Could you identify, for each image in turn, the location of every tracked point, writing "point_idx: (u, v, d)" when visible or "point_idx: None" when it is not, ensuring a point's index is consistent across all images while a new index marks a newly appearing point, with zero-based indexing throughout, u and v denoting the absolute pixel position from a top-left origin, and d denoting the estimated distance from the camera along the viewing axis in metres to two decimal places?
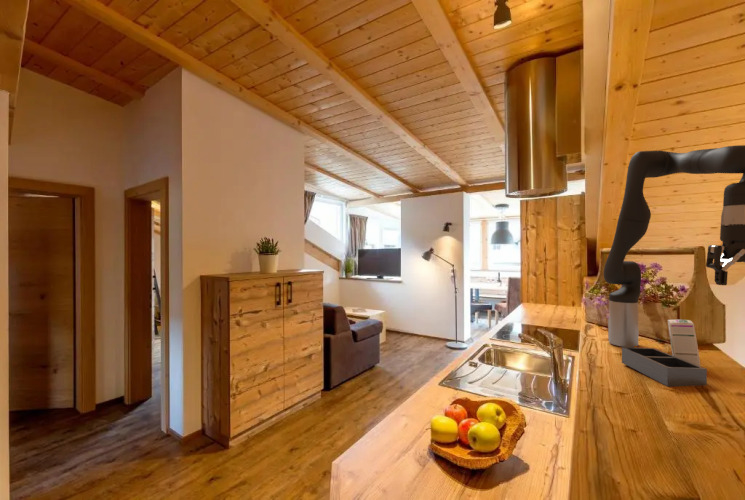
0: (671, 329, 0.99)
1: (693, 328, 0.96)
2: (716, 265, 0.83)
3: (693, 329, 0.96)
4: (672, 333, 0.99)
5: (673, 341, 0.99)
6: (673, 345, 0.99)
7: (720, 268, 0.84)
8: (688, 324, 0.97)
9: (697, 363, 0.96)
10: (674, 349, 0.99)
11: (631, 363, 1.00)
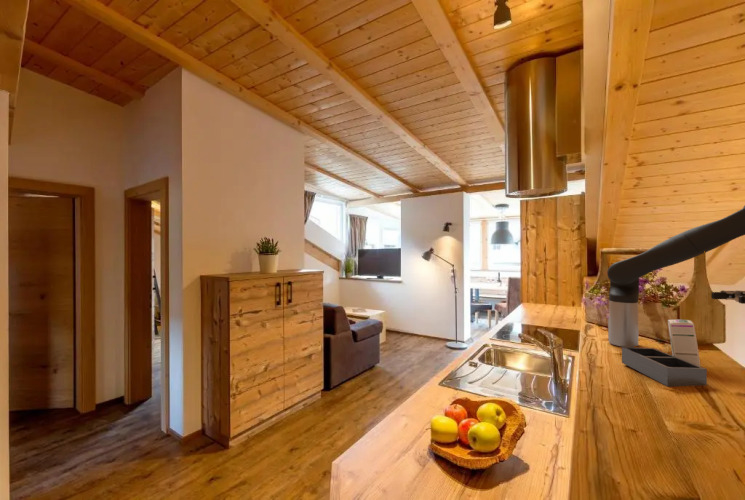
0: (671, 329, 0.99)
1: (693, 328, 0.96)
2: None
3: (693, 329, 0.96)
4: (672, 333, 0.99)
5: (673, 341, 0.99)
6: (673, 345, 0.99)
7: None
8: (688, 324, 0.97)
9: (697, 363, 0.96)
10: (674, 349, 0.99)
11: (631, 363, 1.00)
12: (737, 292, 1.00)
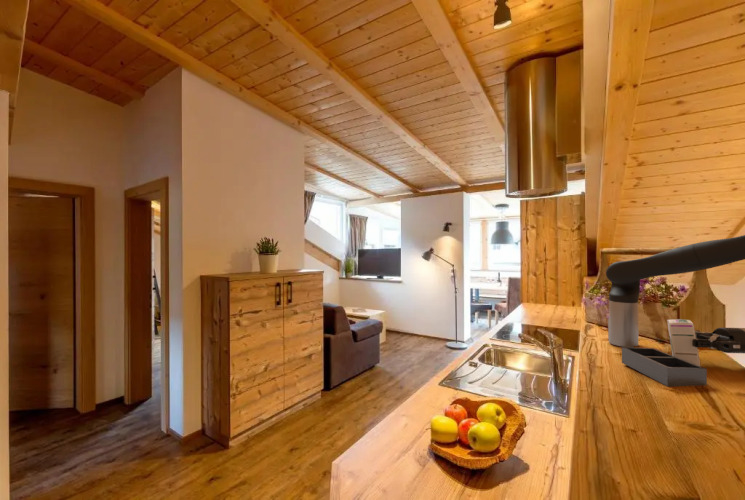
0: (671, 329, 0.99)
1: (693, 328, 0.96)
2: (721, 350, 0.92)
3: (693, 329, 0.96)
4: (672, 333, 0.99)
5: (673, 341, 0.99)
6: (673, 345, 0.99)
7: (713, 347, 0.94)
8: (688, 324, 0.97)
9: (697, 363, 0.96)
10: (674, 349, 0.99)
11: (631, 363, 1.00)
12: None
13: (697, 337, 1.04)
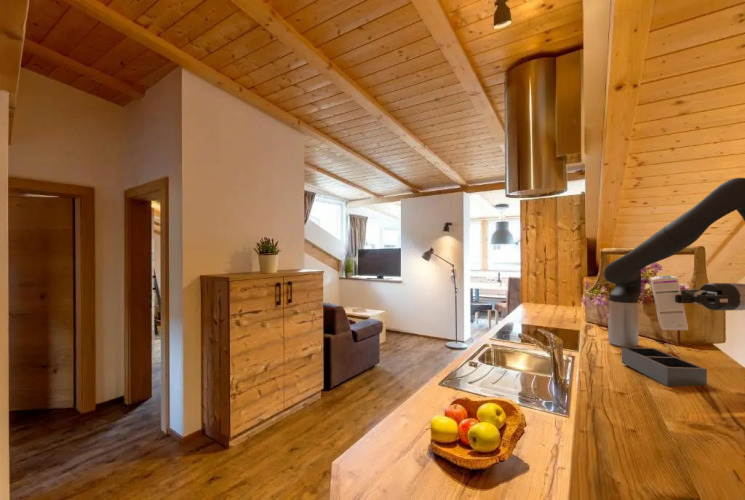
0: (654, 286, 0.90)
1: (677, 283, 0.87)
2: (706, 305, 0.84)
3: (677, 284, 0.87)
4: (655, 291, 0.90)
5: (657, 299, 0.90)
6: (657, 304, 0.90)
7: (697, 302, 0.85)
8: (671, 279, 0.88)
9: (684, 321, 0.87)
10: (658, 308, 0.90)
11: (631, 363, 1.00)
12: None
13: None
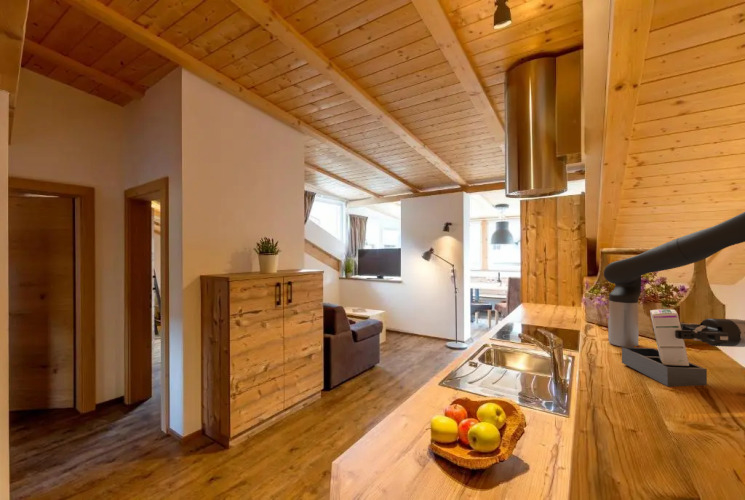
0: (654, 320, 0.90)
1: (677, 318, 0.87)
2: (706, 342, 0.84)
3: (677, 319, 0.87)
4: (655, 325, 0.90)
5: (657, 334, 0.90)
6: (657, 338, 0.90)
7: (698, 338, 0.85)
8: (671, 314, 0.88)
9: (684, 357, 0.87)
10: (659, 343, 0.90)
11: (631, 363, 1.00)
12: None
13: (683, 330, 0.96)
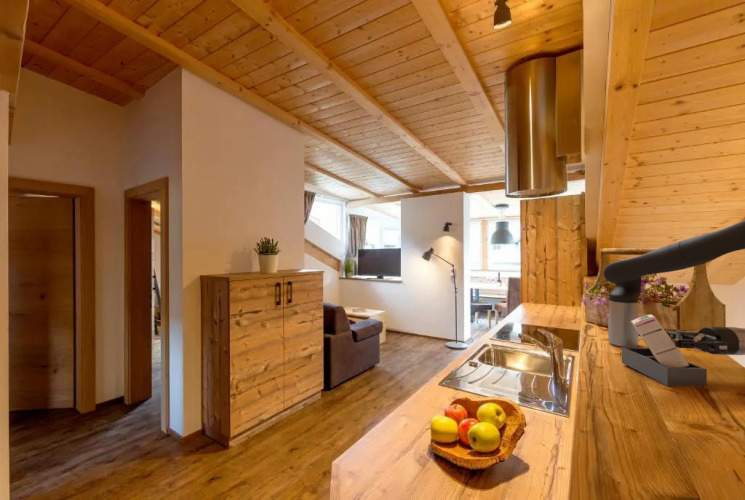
0: (638, 329, 0.93)
1: (657, 321, 0.91)
2: (706, 351, 0.84)
3: (657, 322, 0.91)
4: (641, 333, 0.92)
5: (647, 342, 0.92)
6: (649, 346, 0.91)
7: (697, 348, 0.85)
8: (650, 319, 0.91)
9: (681, 357, 0.88)
10: (652, 350, 0.91)
11: (631, 363, 1.00)
12: (678, 332, 0.93)
13: None
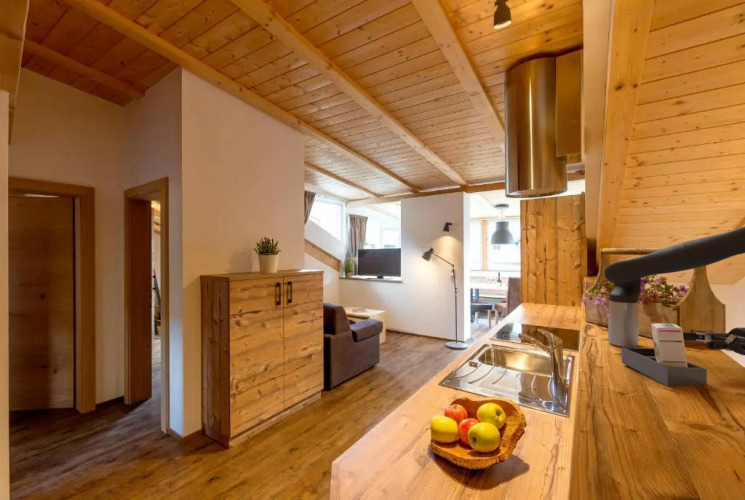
0: (658, 334, 0.90)
1: (681, 333, 0.88)
2: (739, 353, 0.83)
3: (681, 334, 0.88)
4: (659, 339, 0.90)
5: (660, 348, 0.90)
6: (660, 352, 0.90)
7: (730, 349, 0.84)
8: (676, 329, 0.88)
9: None
10: (661, 357, 0.90)
11: (631, 363, 1.00)
12: (707, 333, 0.92)
13: (711, 338, 0.95)
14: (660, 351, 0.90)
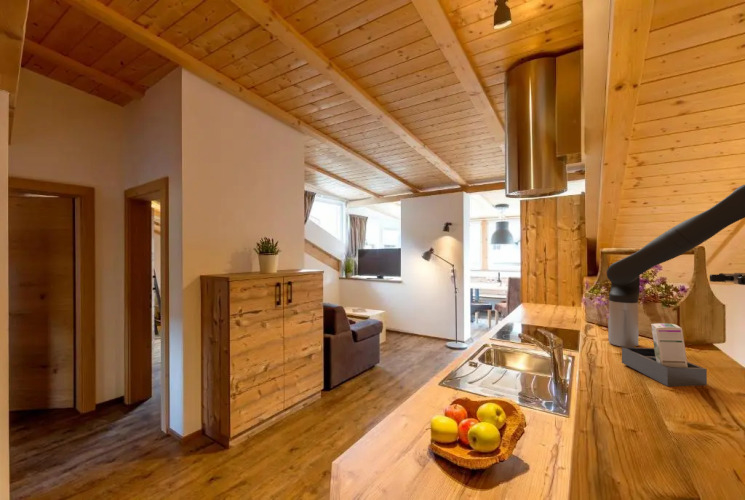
0: (658, 334, 0.90)
1: (681, 333, 0.88)
2: None
3: (681, 334, 0.88)
4: (659, 339, 0.90)
5: (660, 348, 0.90)
6: (660, 352, 0.90)
7: None
8: (676, 329, 0.88)
9: None
10: (661, 357, 0.90)
11: (631, 363, 1.00)
12: (736, 274, 0.97)
13: None
14: (660, 351, 0.90)
